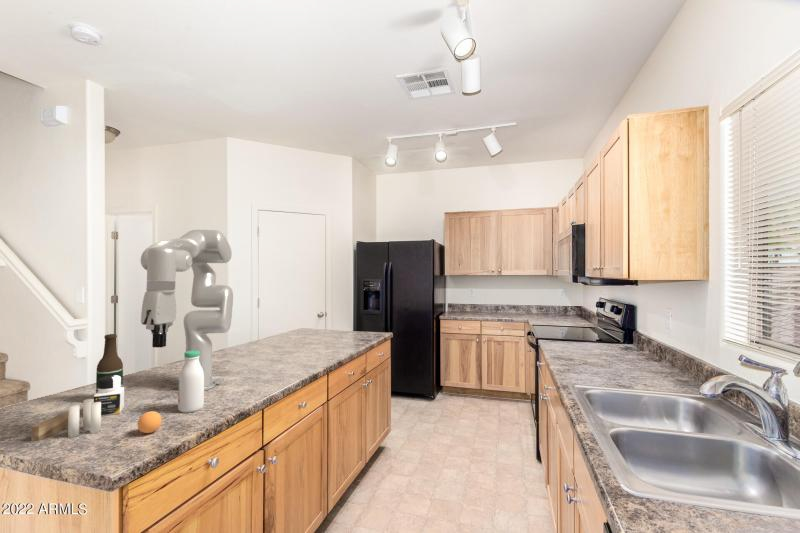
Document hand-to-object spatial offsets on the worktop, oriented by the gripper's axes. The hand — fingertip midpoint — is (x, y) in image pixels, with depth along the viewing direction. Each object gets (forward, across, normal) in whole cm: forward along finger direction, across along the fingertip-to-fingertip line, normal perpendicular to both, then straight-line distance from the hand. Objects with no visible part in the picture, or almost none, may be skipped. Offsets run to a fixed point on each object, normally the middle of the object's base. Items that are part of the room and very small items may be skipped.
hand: (159, 346), depth 113 cm
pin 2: (+25, 0, -21) cm, 32 cm away
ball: (+22, +3, 0) cm, 22 cm away
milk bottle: (+24, -16, +1) cm, 29 cm away
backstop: (+25, +3, -28) cm, 38 cm away
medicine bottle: (+24, -12, -24) cm, 37 cm away
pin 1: (+25, +6, -21) cm, 33 cm away
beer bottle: (+24, -24, -34) cm, 48 cm away
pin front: (+25, +3, -16) cm, 30 cm away
